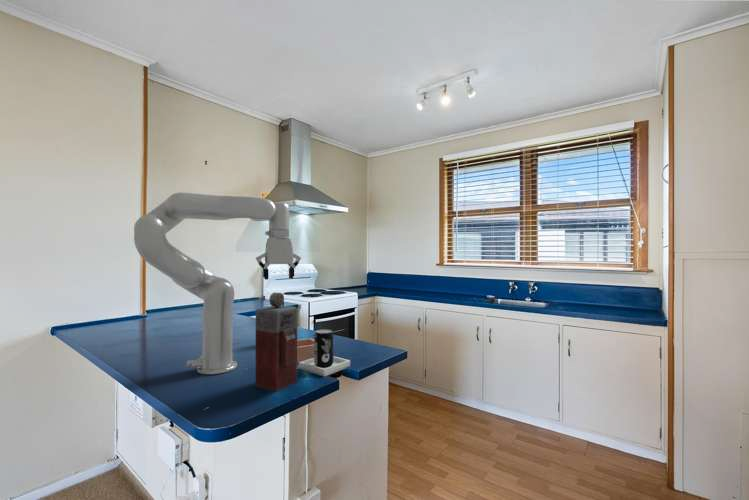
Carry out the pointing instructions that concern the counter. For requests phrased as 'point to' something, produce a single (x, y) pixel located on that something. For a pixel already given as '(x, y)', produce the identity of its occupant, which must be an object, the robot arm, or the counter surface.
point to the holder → (305, 349)
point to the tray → (335, 367)
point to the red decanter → (276, 345)
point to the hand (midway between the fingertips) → (278, 278)
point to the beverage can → (323, 348)
